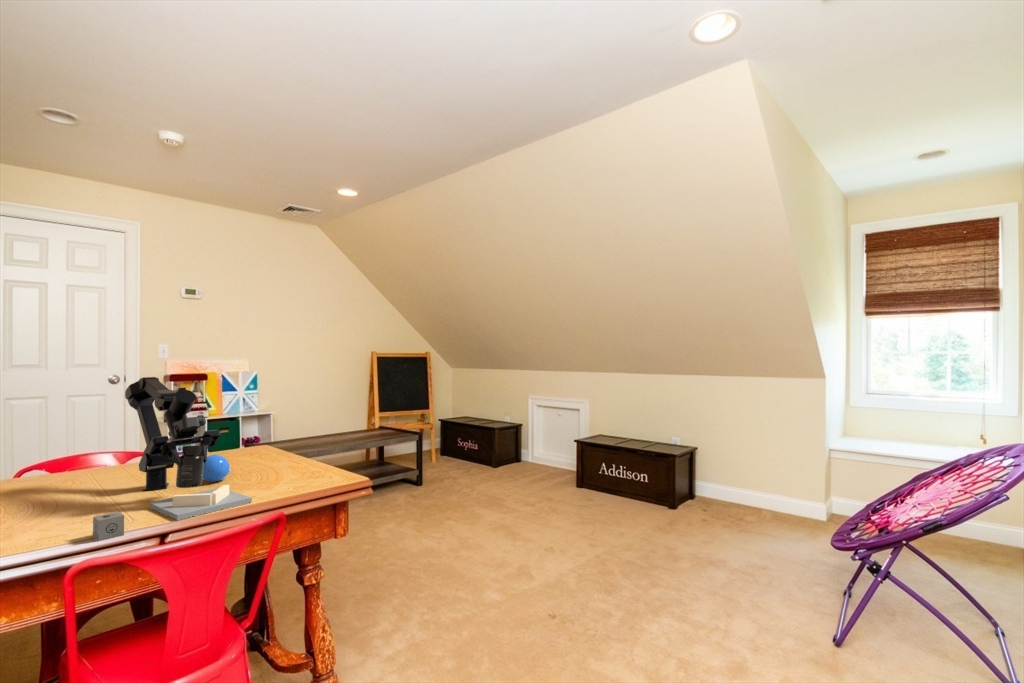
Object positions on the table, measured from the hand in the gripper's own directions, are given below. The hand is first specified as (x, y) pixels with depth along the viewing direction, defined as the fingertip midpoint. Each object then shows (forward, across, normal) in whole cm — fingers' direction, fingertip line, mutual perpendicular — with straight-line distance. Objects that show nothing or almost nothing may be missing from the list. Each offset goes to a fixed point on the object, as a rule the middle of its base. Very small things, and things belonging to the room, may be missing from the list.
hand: (193, 463), depth 154 cm
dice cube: (+18, -25, -2) cm, 31 cm away
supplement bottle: (+4, -1, +6) cm, 7 cm away
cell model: (-7, +16, +24) cm, 29 cm away
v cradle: (+12, 0, +4) cm, 13 cm away
